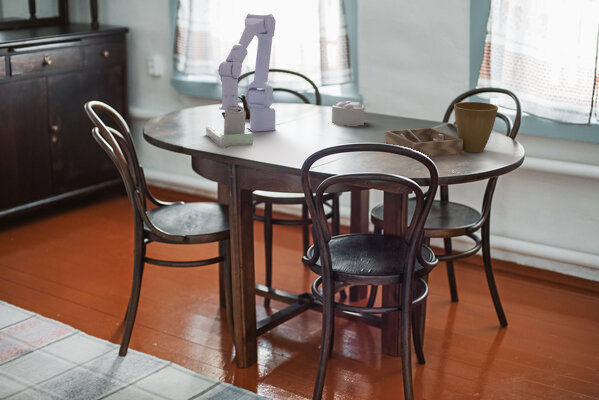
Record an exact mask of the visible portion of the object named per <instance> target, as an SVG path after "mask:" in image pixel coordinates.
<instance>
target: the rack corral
mask: <svg viewBox="0 0 599 400" xmlns="http://www.w3.org/2000/svg"><path fill="white" fill-rule="evenodd" d="M407 129H408V128H406V129H394V130H385V135H384V136H385V137H384V144H385V143H386V144H393V145H399V146H404V147H408V148H411V149H413V150H416V151H419V152H421V153H423V154H425V155H427V156H428V157H427V158H432V157H433V156H434V157H442V156H441V155H445V156H451V155H450V154H457V155H462V154H463V150H462V146H463V140H462V139H459V137H457V136H454V135H451V134H449V133H446V132H444V131H442V130H439V129H436V128H433V127H423V128H409V129H410V130H411V132H412V133H413V134H414V135H415V136H416V137H417V138H418V139H419V140H420V141H421V142H419V141H418V140H417V139H416V138H415V137H414V136H413V135H412V134H411V133H409V132H408V131H407ZM401 134H403V135H404V136H405V138H403V137H402V136H401ZM438 134H442V135H443V136H444V141H442V137H441V136H439V135H438ZM433 139H437V140H438V141H433ZM461 153H462V154H461ZM429 156H430V157H429Z"/></svg>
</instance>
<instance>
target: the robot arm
mask: <svg viewBox="0 0 599 400" xmlns="http://www.w3.org/2000/svg"><path fill="white" fill-rule="evenodd" d="M276 22H277V21H276V18H275V17H274V15H273V14H272V13H262V12H247V15H246V16H245V19H244V29H243V32H242V34H241V36H240V39H239V41H238V43H237V44H234V45H233V47H232V48H231V49H230V52H229V53H228V55H227V57H226V58H225V61H222V62H221V63H220V64H219V67H218V69H217V71H218V75H219V78H220V79H219V80H220V82H221V99H222V101H221V105H222V106H219V107H218V110H223V112H221V115H222V117H223V119H224V118H225V111H226V110H227V107H228V106H231V105H239V98H238V97H239V81H238V79H239V77H240V76H241V74H242V69H243V62H244V61H245V59H246V57H247V56H248V47H249V46H250V44H251V43H252V41H253V39H254V38H255V37H256V38H257V40H258V41H257V49H256V58H255V59H256V60H255V65H254V76H253V77H254V78H253V81H251V82H249V84H247V90H246V92H245V93H246V95H245V99H246V102H247V104H248V106H249V107H250V120H249V122H250V124H249V126H247V127H246V129H249V130H250V132H252V133H253V132H267V131H276V130H277V129H276V109H275V107H274V106H272V104H273V103H274V87H273V86H272V85H271V84H270V83H269V82H268V80H269V72H270V63H271V62H270V61H271V56H272V46H273V45H272V44H273V37H275V30H276ZM235 112H238V109H237V111H235Z"/></svg>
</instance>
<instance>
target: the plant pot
mask: <svg viewBox="0 0 599 400" xmlns="http://www.w3.org/2000/svg"><path fill="white" fill-rule="evenodd" d="M453 109H454V119H455V125H456V132H457V136H458V137H457V138H459V139H462V140H463V146H462V151H463V150H464V152H465V151H467V152H466V153H471V152H479V153H482V152H484V150H485V148H486V145H487V143H488V142H489V139H490V136H491V135H492V131H493V128H494V126H495V122H496V118H497V114H498V109H499V106H498V105H496V104H493V103H490V102H480V101H464V102H463V101H462V102H457V103H454V104H453Z"/></svg>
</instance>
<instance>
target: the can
mask: <svg viewBox="0 0 599 400" xmlns="http://www.w3.org/2000/svg"><path fill="white" fill-rule="evenodd" d="M237 109H238V112H235V111H237ZM224 112H225V118H224V117H223V119H224V123H223V135H224V134H230V133H245V132H246V119H245V118H246V112H245V111H244V108H243V106H241V105H239V104H238V105H231V106H228V107H227V110H226V111H225V110H224Z"/></svg>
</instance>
